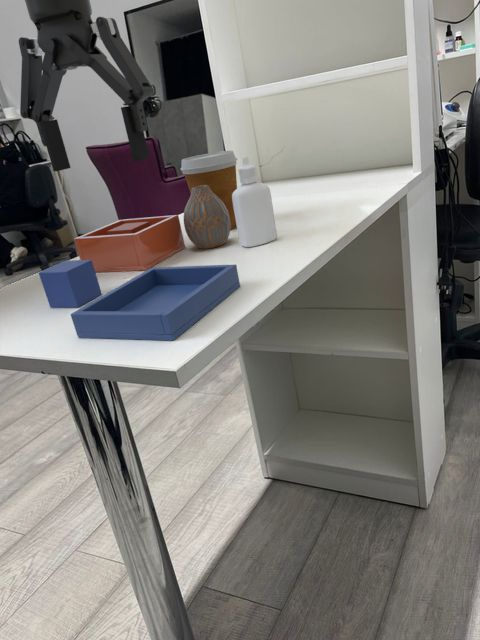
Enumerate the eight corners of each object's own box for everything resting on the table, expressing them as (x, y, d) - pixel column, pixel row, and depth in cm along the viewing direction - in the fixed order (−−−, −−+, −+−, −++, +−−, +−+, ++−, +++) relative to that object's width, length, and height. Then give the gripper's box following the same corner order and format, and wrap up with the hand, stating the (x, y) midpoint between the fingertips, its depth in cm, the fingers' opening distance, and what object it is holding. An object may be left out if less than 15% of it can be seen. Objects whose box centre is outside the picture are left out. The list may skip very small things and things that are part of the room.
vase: (231, 236, 86) (220, 179, 82) (236, 245, 80) (225, 184, 76) (188, 244, 85) (176, 188, 82) (190, 254, 79) (177, 194, 76)
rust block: (115, 260, 81) (106, 231, 79) (132, 252, 84) (125, 223, 83) (139, 259, 79) (131, 229, 77) (156, 250, 83) (149, 221, 81)
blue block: (50, 307, 66) (38, 272, 64) (74, 294, 70) (64, 260, 68) (78, 307, 64) (66, 271, 62) (102, 294, 68) (91, 259, 66)
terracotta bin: (84, 272, 80) (73, 238, 78) (128, 250, 89) (120, 219, 87) (145, 270, 75) (136, 234, 73) (185, 247, 84) (178, 214, 82)
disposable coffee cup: (182, 235, 93) (166, 163, 88) (217, 221, 99) (204, 153, 94) (225, 235, 87) (210, 158, 82) (259, 220, 94) (247, 148, 89)
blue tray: (77, 337, 55) (70, 314, 54) (156, 287, 67) (151, 267, 66) (173, 340, 50) (167, 314, 49) (240, 286, 62) (236, 264, 61)
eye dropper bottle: (239, 242, 81) (224, 159, 76) (276, 236, 81) (264, 152, 76) (240, 249, 77) (225, 162, 72) (279, 242, 77) (266, 154, 72)
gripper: (155, -39, 63) (192, 150, 72) (2, 7, 73) (50, 169, 82) (118, -50, 57) (162, 159, 66) (-45, 2, 67) (13, 178, 76)
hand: (100, 165), depth 74 cm, fingers open, 13 cm apart
